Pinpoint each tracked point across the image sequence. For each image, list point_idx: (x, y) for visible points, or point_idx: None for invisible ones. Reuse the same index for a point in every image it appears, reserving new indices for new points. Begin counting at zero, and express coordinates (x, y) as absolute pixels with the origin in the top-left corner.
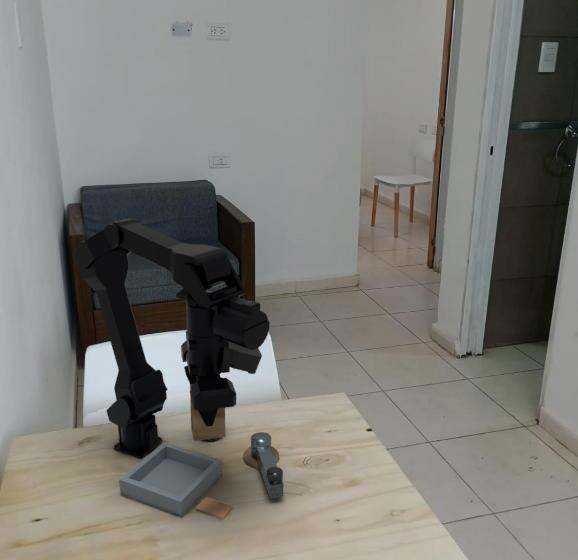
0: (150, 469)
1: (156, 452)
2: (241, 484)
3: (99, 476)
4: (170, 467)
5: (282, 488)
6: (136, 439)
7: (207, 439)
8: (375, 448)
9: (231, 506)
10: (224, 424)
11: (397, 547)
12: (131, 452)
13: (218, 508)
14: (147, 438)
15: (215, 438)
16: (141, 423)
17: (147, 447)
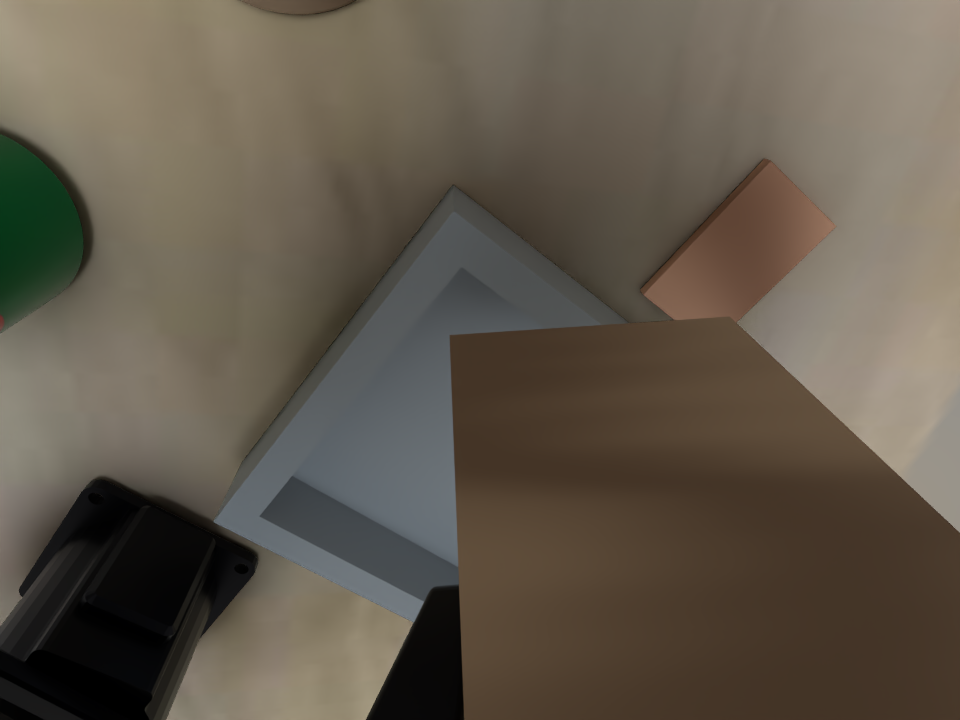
0: (386, 536)
1: (319, 555)
2: (568, 73)
3: (372, 672)
4: (365, 451)
5: None
6: (192, 637)
7: (81, 249)
8: None
9: (767, 169)
10: (810, 405)
11: None
12: (224, 600)
13: (755, 241)
14: (189, 600)
15: (67, 196)
16: (142, 704)
17: (207, 559)
